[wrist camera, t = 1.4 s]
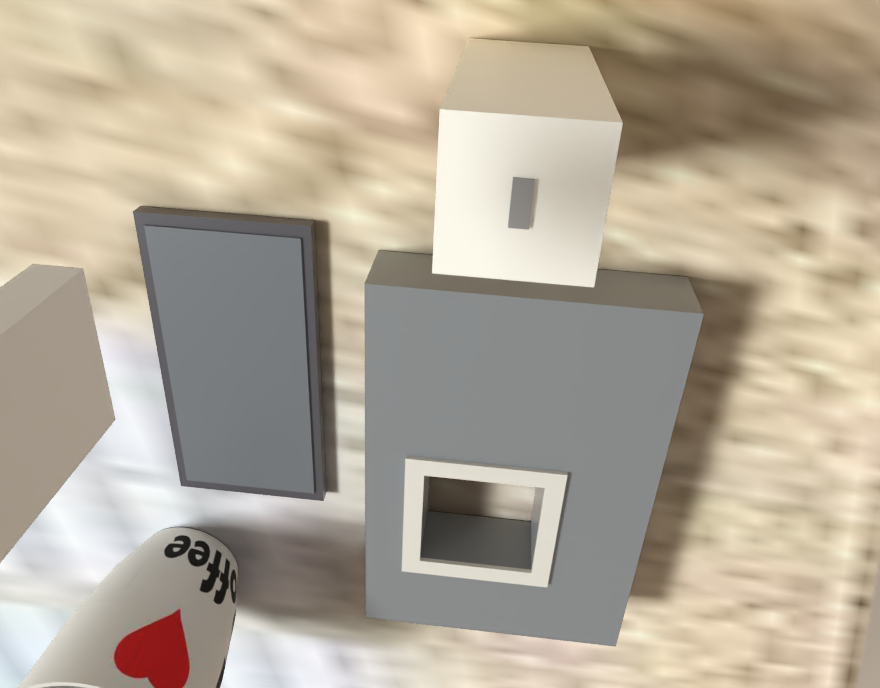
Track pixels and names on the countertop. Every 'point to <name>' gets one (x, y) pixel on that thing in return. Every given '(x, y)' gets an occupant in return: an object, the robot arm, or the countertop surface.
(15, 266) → the countertop surface
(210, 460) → the phone
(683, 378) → the plate
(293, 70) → the countertop surface
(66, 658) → the cup
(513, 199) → the block
